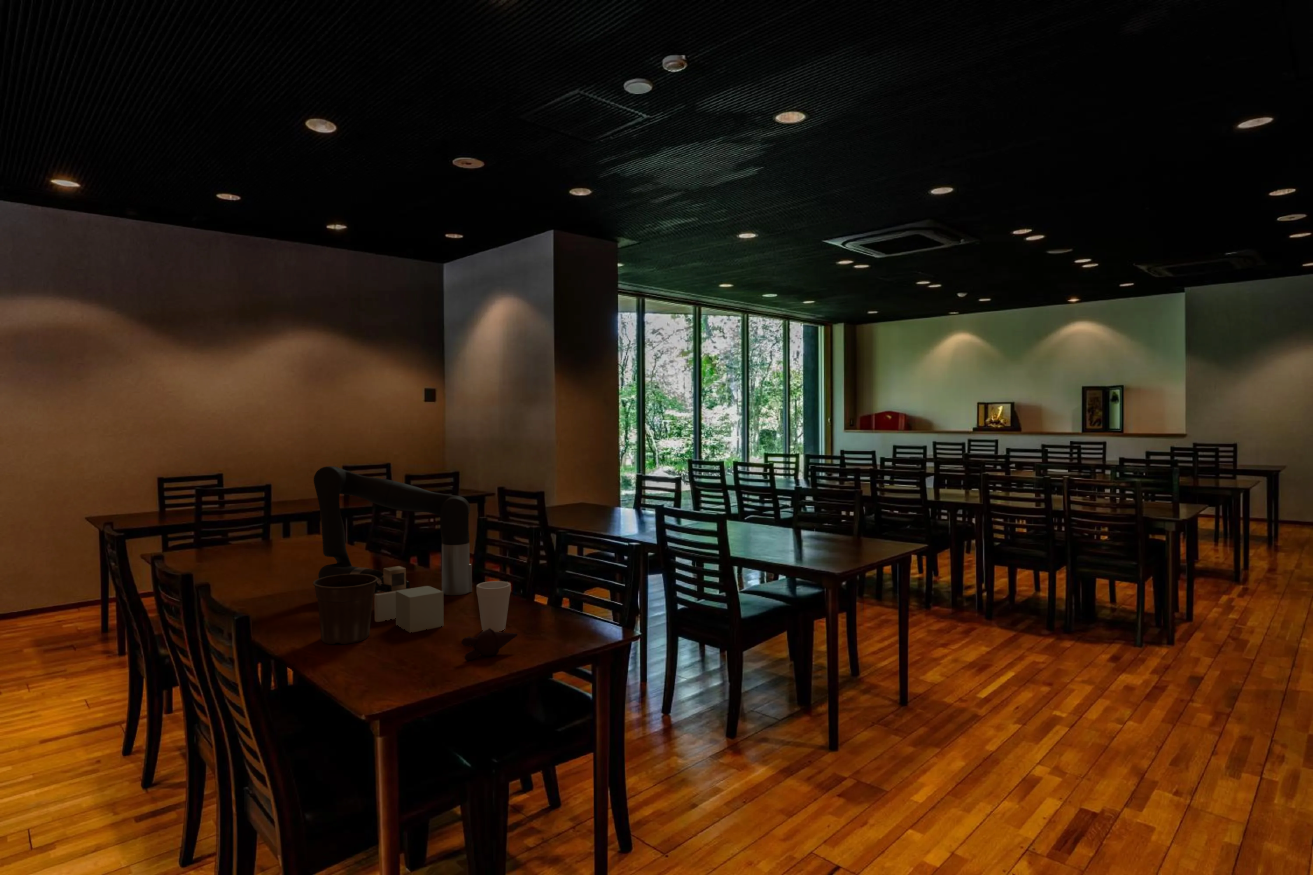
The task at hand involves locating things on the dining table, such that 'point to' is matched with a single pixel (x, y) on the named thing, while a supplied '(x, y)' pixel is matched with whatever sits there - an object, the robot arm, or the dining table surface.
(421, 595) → the stand
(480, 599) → the foam cup
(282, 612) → the dining table surface
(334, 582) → the plant pot
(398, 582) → the birch block
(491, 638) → the icecream
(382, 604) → the screen
